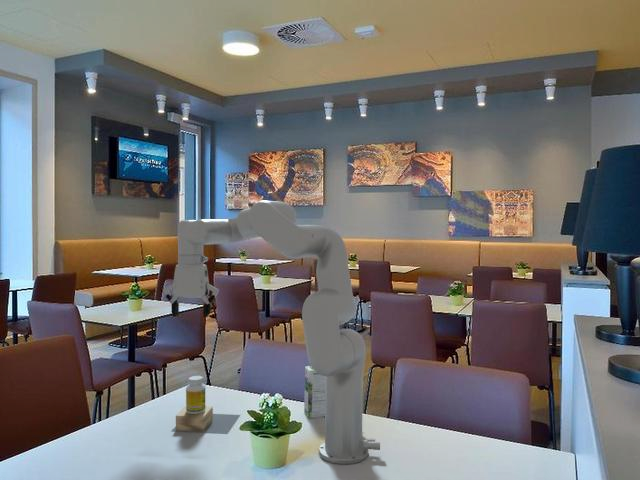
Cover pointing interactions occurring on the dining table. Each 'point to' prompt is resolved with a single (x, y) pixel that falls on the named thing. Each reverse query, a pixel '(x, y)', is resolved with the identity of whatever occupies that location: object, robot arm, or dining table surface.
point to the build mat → (217, 424)
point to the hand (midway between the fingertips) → (191, 316)
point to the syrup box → (314, 393)
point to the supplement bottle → (195, 395)
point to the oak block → (194, 420)
